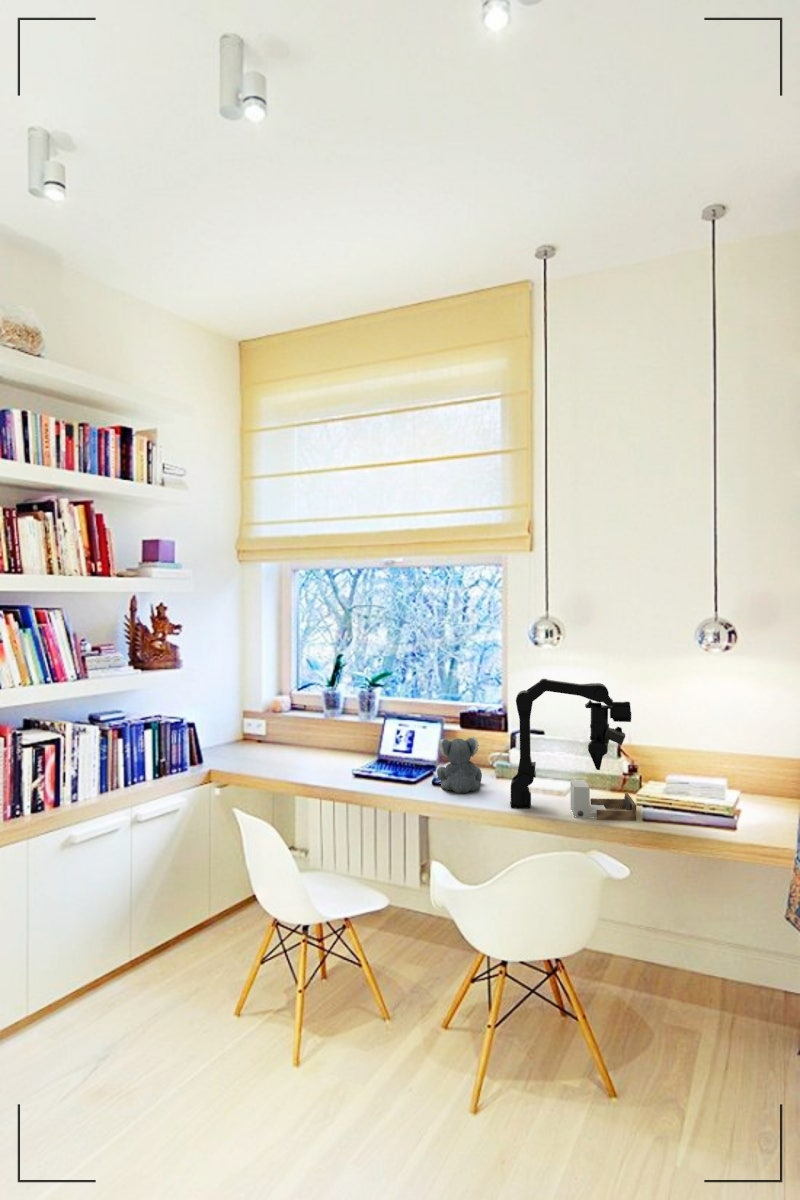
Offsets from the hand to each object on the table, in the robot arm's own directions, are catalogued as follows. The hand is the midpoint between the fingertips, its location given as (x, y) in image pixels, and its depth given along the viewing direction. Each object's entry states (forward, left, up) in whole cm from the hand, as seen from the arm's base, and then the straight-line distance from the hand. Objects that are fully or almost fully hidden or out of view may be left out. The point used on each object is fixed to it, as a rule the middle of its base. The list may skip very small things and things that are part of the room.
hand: (598, 766), depth 258 cm
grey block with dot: (-4, -6, -15) cm, 16 cm away
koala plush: (-48, +23, -15) cm, 55 cm away
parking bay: (+3, -6, -15) cm, 16 cm away
